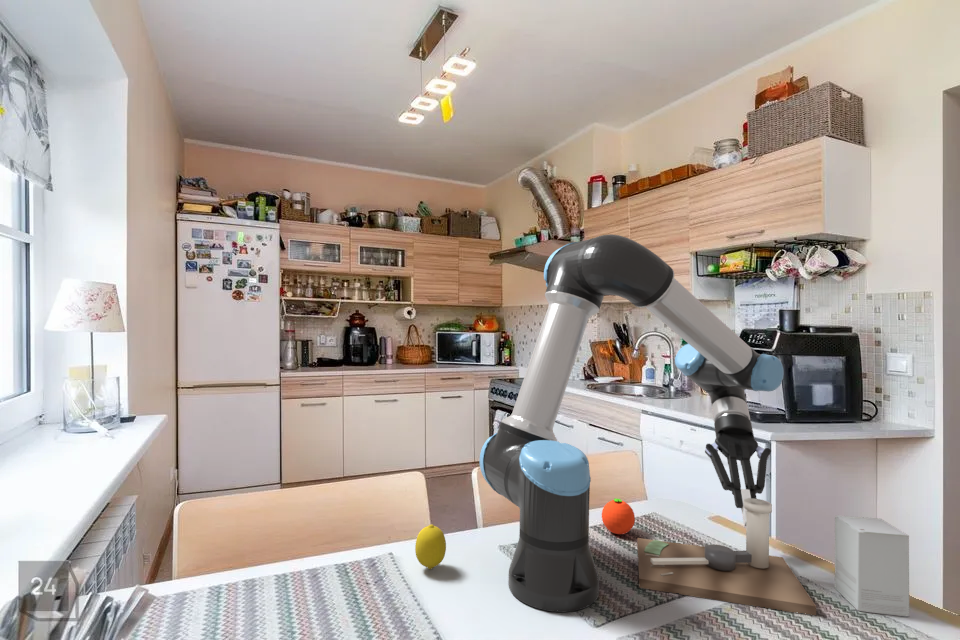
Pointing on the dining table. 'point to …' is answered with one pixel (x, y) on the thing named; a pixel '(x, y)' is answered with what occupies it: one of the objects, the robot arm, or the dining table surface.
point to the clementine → (618, 516)
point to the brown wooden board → (722, 578)
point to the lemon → (430, 546)
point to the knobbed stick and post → (727, 557)
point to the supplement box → (872, 565)
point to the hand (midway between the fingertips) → (749, 523)
